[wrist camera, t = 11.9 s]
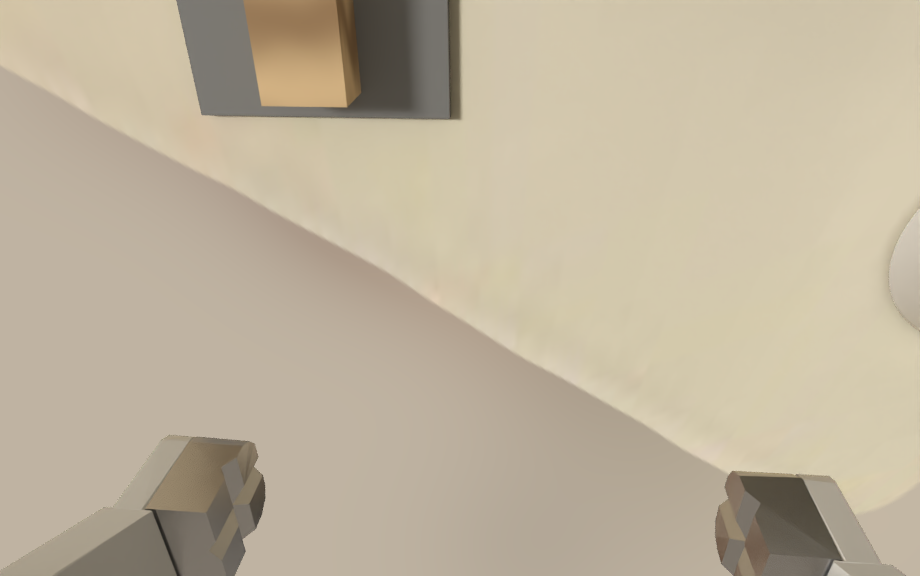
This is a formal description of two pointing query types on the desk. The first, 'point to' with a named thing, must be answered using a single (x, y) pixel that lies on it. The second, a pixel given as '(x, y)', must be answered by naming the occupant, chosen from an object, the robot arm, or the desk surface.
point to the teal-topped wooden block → (304, 52)
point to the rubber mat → (379, 54)
